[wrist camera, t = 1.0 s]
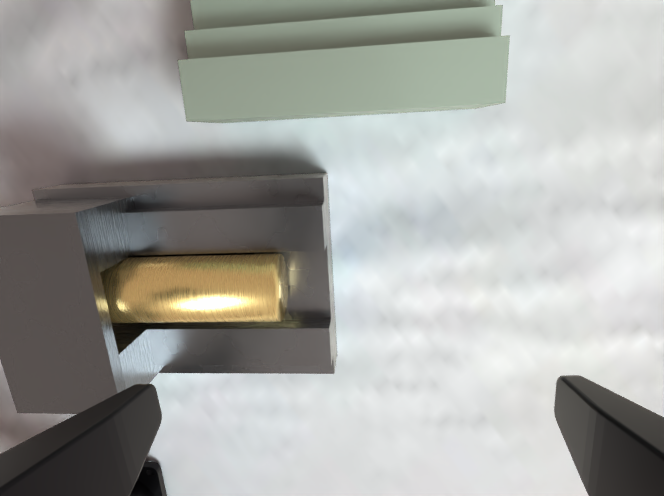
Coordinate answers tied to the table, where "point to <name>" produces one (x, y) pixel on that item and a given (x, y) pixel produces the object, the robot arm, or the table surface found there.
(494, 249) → the table surface
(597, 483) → the robot arm
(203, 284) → the axle
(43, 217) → the grey slotted block
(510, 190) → the table surface
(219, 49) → the v block
